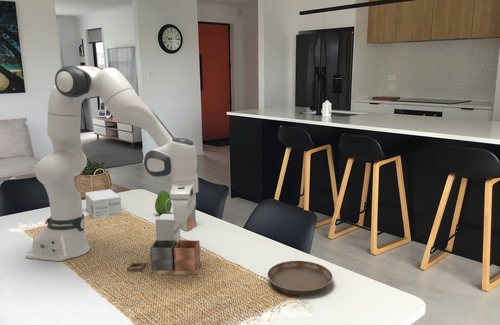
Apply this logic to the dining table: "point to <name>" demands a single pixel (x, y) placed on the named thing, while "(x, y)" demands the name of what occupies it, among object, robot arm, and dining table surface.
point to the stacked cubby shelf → (175, 257)
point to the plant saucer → (299, 277)
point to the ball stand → (130, 268)
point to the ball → (190, 224)
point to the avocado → (163, 203)
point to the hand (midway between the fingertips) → (186, 226)
